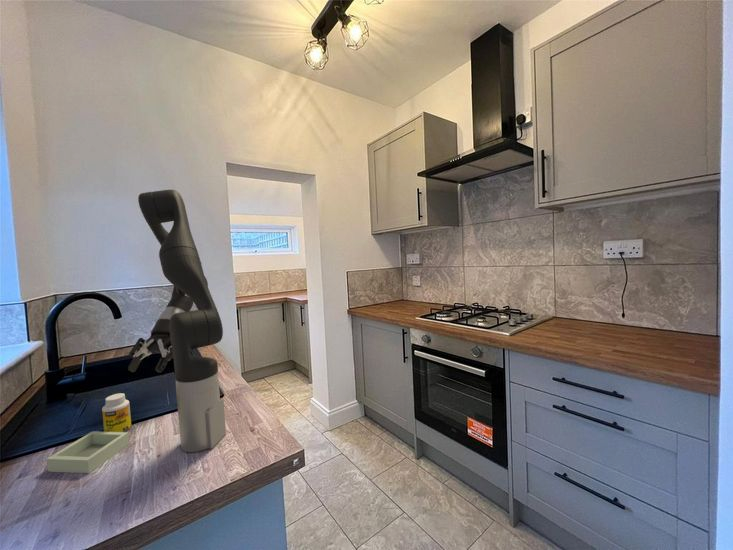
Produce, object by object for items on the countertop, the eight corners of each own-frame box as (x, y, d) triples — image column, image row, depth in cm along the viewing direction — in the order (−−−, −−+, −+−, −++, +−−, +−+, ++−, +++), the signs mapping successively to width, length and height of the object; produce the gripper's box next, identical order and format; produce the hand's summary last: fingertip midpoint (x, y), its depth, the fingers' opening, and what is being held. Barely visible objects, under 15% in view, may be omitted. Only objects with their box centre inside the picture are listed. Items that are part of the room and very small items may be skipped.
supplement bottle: (102, 442, 75) (98, 404, 75) (106, 432, 80) (103, 395, 79) (130, 434, 78) (127, 397, 78) (133, 424, 83) (129, 389, 82)
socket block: (129, 443, 75) (128, 432, 74) (89, 473, 65) (87, 460, 64) (93, 442, 75) (92, 431, 75) (48, 471, 66) (46, 458, 65)
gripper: (143, 317, 96) (113, 365, 86) (184, 317, 95) (159, 366, 84) (157, 329, 102) (130, 375, 91) (196, 329, 100) (174, 376, 90)
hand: (144, 371), depth 88 cm, fingers open, 8 cm apart
